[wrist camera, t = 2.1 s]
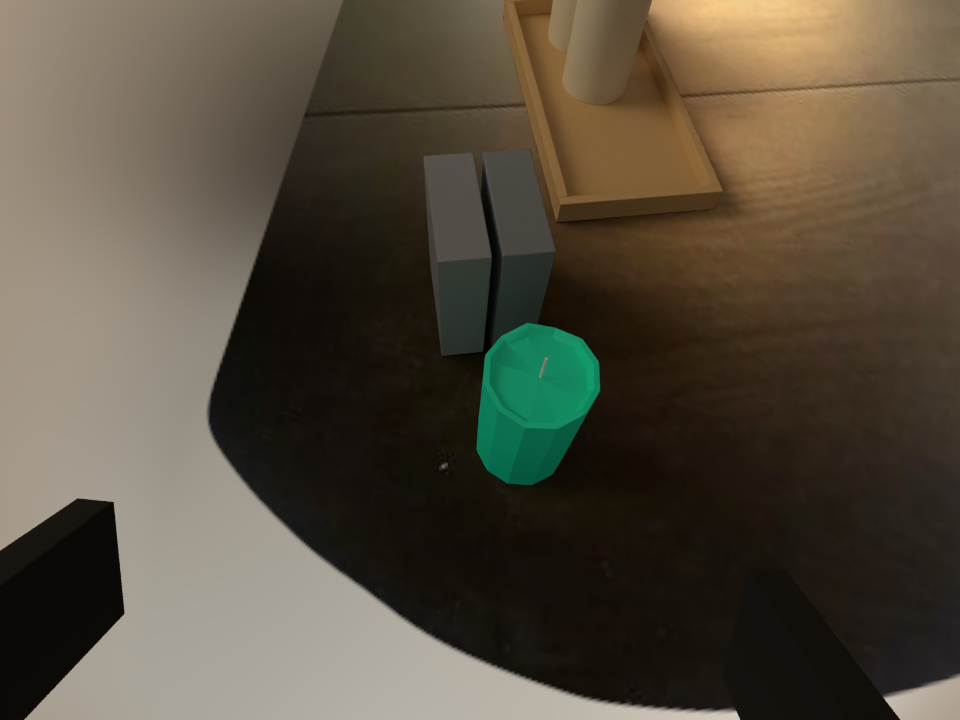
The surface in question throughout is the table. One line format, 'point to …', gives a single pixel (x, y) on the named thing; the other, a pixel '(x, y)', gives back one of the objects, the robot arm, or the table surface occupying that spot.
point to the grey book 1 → (457, 251)
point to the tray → (609, 131)
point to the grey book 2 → (515, 240)
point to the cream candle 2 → (603, 48)
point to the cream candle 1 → (561, 23)
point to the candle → (533, 401)
